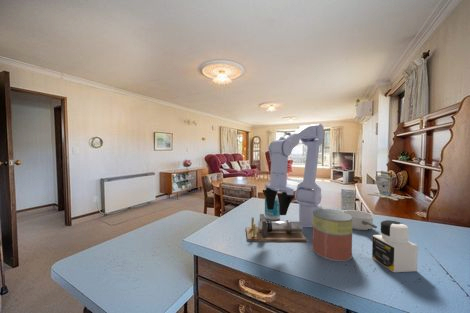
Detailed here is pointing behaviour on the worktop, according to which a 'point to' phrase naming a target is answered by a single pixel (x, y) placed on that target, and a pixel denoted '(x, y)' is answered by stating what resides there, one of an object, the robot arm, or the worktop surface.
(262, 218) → the iron collar
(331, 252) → the canned food
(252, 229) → the brass index gate
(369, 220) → the saucepan
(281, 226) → the air tube
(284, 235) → the walnut board
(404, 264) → the medicine bottle
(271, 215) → the pill bottle
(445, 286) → the worktop surface
